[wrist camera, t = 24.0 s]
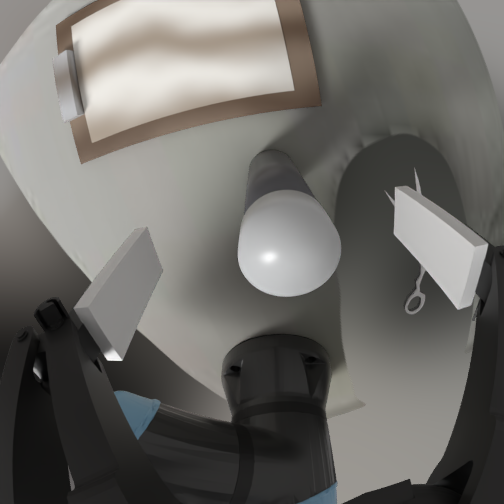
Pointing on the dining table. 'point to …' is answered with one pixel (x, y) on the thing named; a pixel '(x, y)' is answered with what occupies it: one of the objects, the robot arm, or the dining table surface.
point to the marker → (285, 230)
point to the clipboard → (178, 67)
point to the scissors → (418, 278)
